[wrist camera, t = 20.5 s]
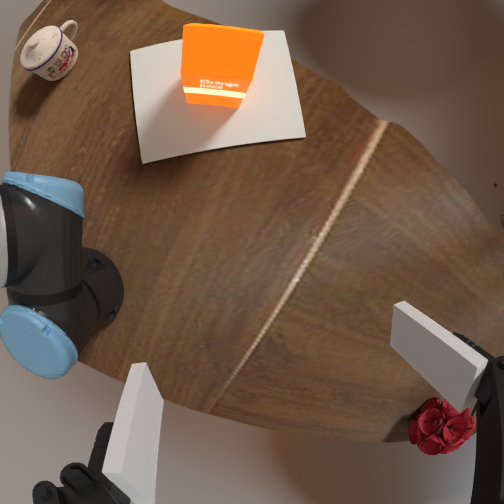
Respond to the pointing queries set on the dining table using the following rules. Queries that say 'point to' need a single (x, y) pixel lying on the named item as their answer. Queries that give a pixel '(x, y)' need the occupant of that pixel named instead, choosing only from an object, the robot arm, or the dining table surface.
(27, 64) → the teacup with lid
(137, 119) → the rubber mat
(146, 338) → the dining table surface
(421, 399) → the dining table surface
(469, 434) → the bouquet
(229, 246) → the dining table surface
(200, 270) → the dining table surface
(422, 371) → the robot arm
